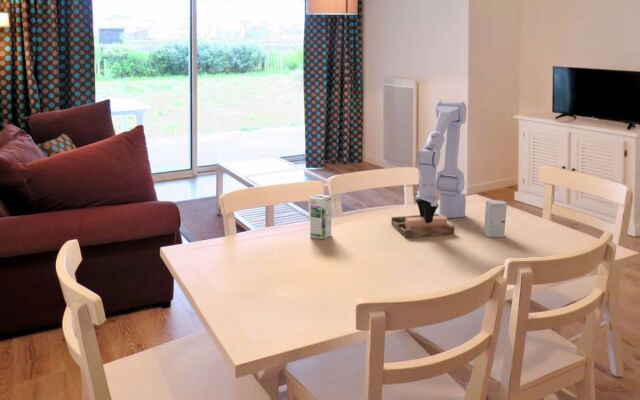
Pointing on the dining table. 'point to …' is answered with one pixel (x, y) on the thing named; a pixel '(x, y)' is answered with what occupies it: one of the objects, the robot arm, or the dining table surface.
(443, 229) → the rack
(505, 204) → the skincare box
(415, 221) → the clay strip
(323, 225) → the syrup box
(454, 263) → the dining table surface
